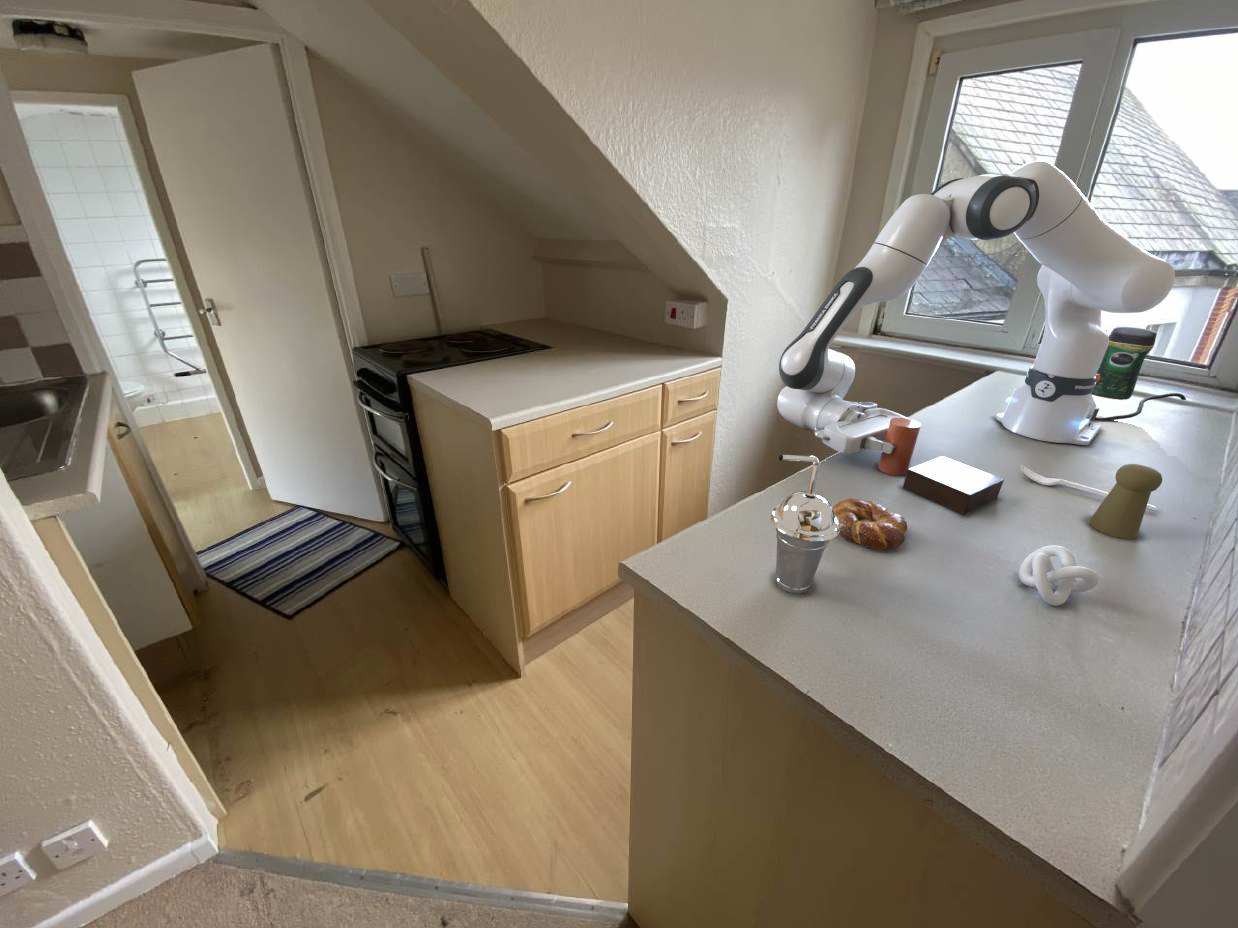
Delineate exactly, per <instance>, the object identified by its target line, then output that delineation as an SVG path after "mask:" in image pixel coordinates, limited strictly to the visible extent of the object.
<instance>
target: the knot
mask: <svg viewBox="0 0 1238 928" xmlns="http://www.w3.org/2000/svg"><path fill="white" fill-rule="evenodd" d="M1051 557H1059V559H1060V562H1061V567H1059V568H1056V569H1055V567H1054V563H1053V561H1052V558H1051ZM1018 578H1019V581H1020V583H1022V584H1023V585H1025V586H1027V587H1029V588H1036V590H1037V591H1038V594H1039V595H1040V597H1041V598H1042V599H1043V601H1045V602H1046V604H1048V605H1051V606H1055V607H1056V606H1061V605H1063V604H1064V603H1066V602H1067V600H1069V599H1068V598H1070V595H1071V593H1083V592H1087V591H1091V590H1092V589H1094V588H1096V587H1097V586H1098V585H1099V582H1100V578H1099V575H1098V574H1097V572H1096V571H1094V569H1091V568H1089V567H1086V566H1079V565H1077V563H1076V558H1075V555H1074V554H1073V553H1072V551H1071V550H1069V549H1068V548H1066V547H1064V546H1062V545H1057V544H1050V545H1045V546H1042V547H1040V548H1038V549H1035V550H1034V551H1032V552H1030V554H1028V556H1026V557H1025V558H1024V559H1023V561H1022V562H1021V564H1020V566H1019V569H1018ZM1076 578H1077V579H1080V580H1075V579H1076ZM1052 587H1053V588H1056V589H1055V591H1054V590H1053V589H1052Z"/></svg>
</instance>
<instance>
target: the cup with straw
mask: <svg viewBox="0 0 1238 928" xmlns="http://www.w3.org/2000/svg"><path fill="white" fill-rule="evenodd" d="M778 459H779V461H781V462H808V463H810V462H811V463H812V469H811V474H810V480H809V484H808V488H807V490H803V491H797V492H793V493H791V494H789V495H788V496H787V497H786V498H784V500H783V501H782V502H781V503H779V504H778V505H775V507H774V508H773V510H772V513H771V515H770V520H771V524H772V525H773V526H774V527H775V533H776V534H775V535H776V536H775V537H776V562H775V563H776V565H775V575H776V577H775V583H776V584H777V586H778V587H779V588H780V589H781V590H783V591H785V592H787V593H791V594H797V595H799V594H806V593H807V592H809V590H810V588H811V584H812V583H813V581H814V578H815V576H816V573H817V570H818V568H819V565H820V562H821V559H822V557H823V555H824V551H825V549H826V548H827V547H828V545H829V543H830V541H831V540H833V539H834V538H836V537H837V536H838V535H839V531H840V523H839V520H838V518H837V517H836V516H835V515H834V511H833V507H832V504H831V503H830V502H829V500H827V499H826V498H825V497H824V496H822V495H821V494H819V493H816V492H815V488H816V485H817V484H816V483H817V478H818V473H819V467H820V459H818V457H817V456H815V455H800V454H799V455H795V454H780V455H779V457H778Z"/></svg>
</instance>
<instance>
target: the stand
mask: <svg viewBox="0 0 1238 928" xmlns="http://www.w3.org/2000/svg"><path fill="white" fill-rule="evenodd" d="M1004 482H1005V479H1004V478H1001V477H999V476H997V475H994V474H991V473H989V472H986V471H983V470H980V469H978V468H975V467H972V466H970V465H967V464H965V463H962V462H960V461H957V460H954V459H952V458H949V457H947V456H943V455H941V456H938V457H936V458H933V459H931V460H927V461H925V462H922V463H920V464H917V465H915V466H912V467H909V468H908V471H907V474H906V475H905V477H904V482H903V485H902V489H904V490H905V491H907V492H910V493H912V494H914V495H917V496H918V497H920V498H923V499H925V500H927V501H929V502H932V503H934V504H935V505H936V504H937V506H938V505H939V506H940V507H943V508H944V509H947V510H950V511H952V512H954V513H956V514H958V515H960V516H966V515H967V514H969V513H972V512H973V511H976V510H978V509H980V508H982V507H984V506H985V505H988V504H990V503H992V502H994V501H996V500H998V498H999V495H1000V492H1001V490H1002V488H1003V485H1004Z"/></svg>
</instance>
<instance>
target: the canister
mask: <svg viewBox="0 0 1238 928" xmlns="http://www.w3.org/2000/svg"><path fill="white" fill-rule="evenodd" d="M908 418H909V417H907V418H892V419H891V420H890V423H889V427H888V431H887V435H886V439H885V442H887V441H889V442H891V443H894V444H896V448H895V452H893V453H890V454H887V453H885V452H882V451H881V455H880V458H879V462H878V464H877V465H878V466H877V468H878V469H879V470H880V471H881V472H882V473H884V474H887V475H891V476H897V477H898V476H900V477H902V476H906V474H907V471H908V469H909V468H910V465H911V461H912V457H913V455H914V451H915V447H916V445H917V441H918V437H919V435H920V434H919V433H920V430H921V427H922V424H921V422H919V421H917V420H914V419H912V418H909V419H908Z"/></svg>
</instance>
